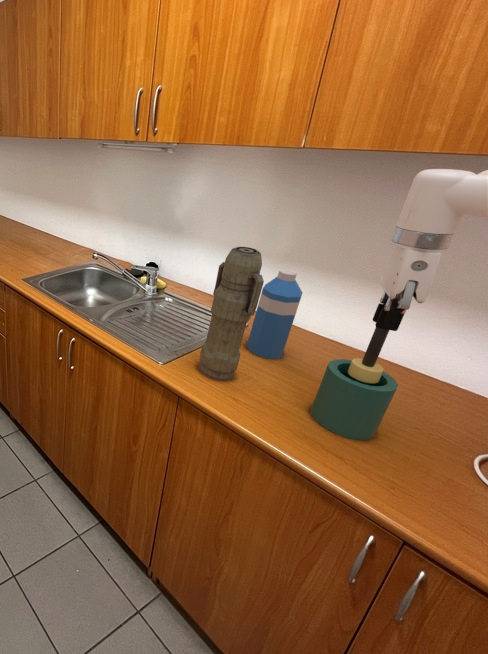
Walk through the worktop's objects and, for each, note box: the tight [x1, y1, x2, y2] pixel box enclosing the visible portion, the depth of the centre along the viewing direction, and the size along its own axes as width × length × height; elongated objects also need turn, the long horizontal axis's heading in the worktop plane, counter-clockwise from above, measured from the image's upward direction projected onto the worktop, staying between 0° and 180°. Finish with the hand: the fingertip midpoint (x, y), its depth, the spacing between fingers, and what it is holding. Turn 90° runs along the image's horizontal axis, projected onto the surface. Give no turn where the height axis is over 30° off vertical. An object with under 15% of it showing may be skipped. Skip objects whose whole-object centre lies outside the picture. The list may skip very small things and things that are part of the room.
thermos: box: [197, 246, 265, 382], centre depth 101 cm, size 9×12×35 cm
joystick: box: [348, 301, 396, 383], centre depth 81 cm, size 5×5×18 cm
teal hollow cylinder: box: [310, 358, 399, 441], centre depth 87 cm, size 11×11×13 cm
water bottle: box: [245, 268, 303, 360], centre depth 112 cm, size 9×9×25 cm
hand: (384, 325), depth 80 cm, fingers closed on joystick
